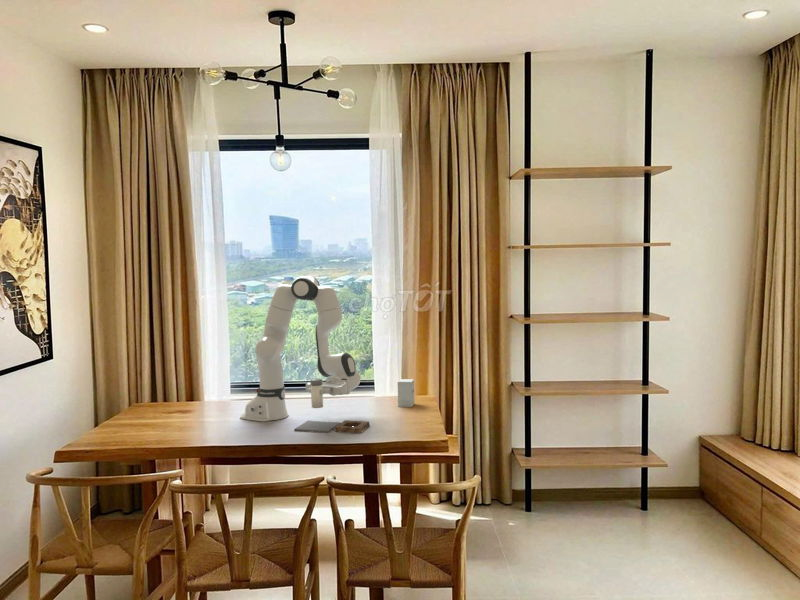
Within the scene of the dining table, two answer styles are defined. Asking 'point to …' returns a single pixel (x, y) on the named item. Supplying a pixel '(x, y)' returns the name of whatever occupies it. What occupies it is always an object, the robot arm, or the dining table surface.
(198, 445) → the dining table surface
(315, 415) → the dining table surface
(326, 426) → the grey mat
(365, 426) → the walnut socket
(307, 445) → the dining table surface
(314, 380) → the cream canister
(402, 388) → the supplement box
